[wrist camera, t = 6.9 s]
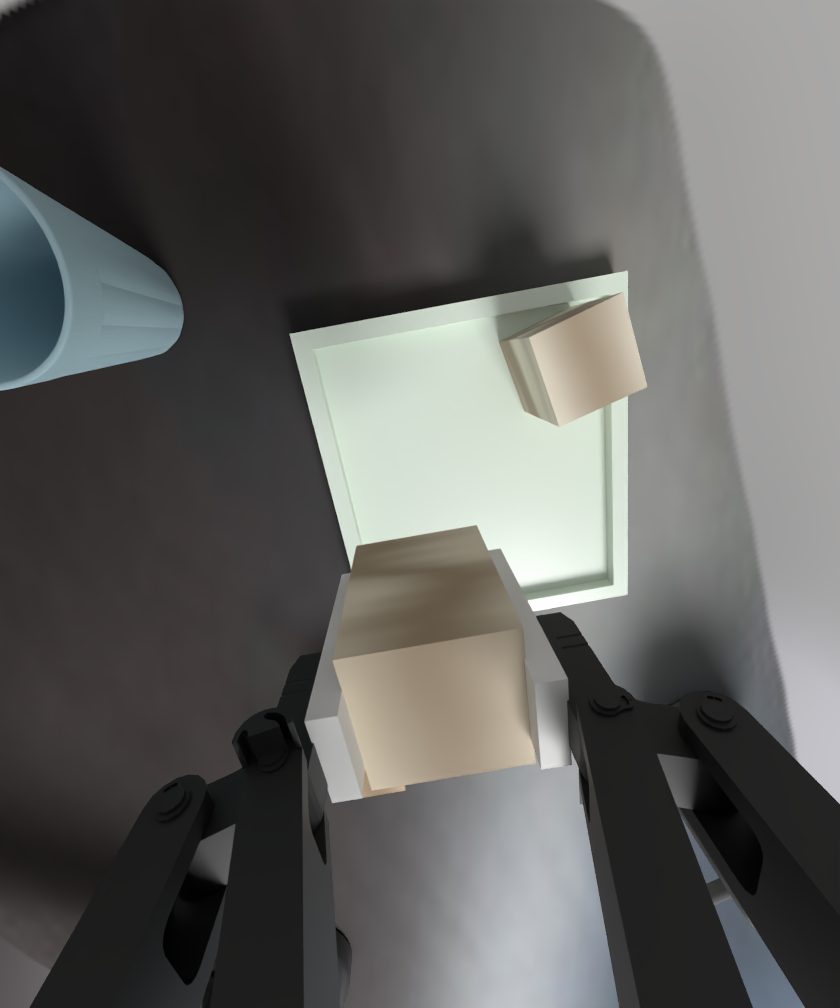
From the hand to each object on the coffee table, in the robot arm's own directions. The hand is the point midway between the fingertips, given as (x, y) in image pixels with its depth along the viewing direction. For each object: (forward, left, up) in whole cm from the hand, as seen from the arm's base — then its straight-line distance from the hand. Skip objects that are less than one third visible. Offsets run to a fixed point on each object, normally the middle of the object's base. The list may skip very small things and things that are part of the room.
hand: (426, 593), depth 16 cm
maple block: (+9, +7, -12) cm, 17 cm away
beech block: (0, 0, 0) cm, 0 cm away
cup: (-14, +14, -13) cm, 23 cm away
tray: (+4, 0, -13) cm, 14 cm away
